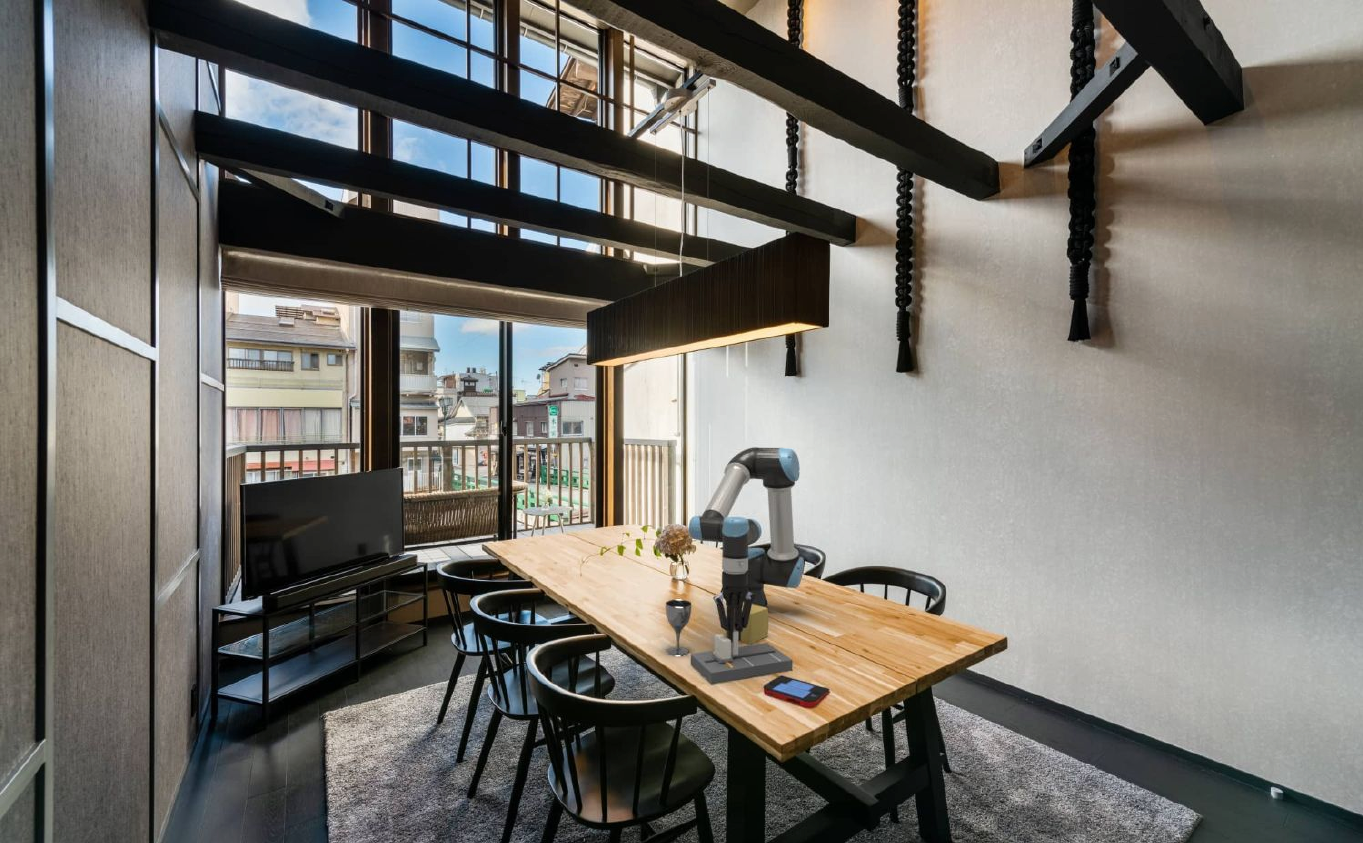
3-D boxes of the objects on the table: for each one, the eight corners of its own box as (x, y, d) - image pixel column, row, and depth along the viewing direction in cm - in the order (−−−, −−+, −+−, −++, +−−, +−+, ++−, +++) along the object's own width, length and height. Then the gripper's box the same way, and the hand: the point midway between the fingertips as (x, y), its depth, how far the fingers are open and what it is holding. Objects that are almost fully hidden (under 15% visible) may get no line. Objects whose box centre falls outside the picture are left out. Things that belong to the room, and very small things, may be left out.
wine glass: (681, 658, 168) (682, 608, 168) (659, 652, 172) (660, 604, 173) (695, 650, 175) (696, 602, 175) (673, 644, 179) (674, 597, 179)
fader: (724, 654, 164) (724, 633, 164) (733, 661, 159) (733, 640, 159) (711, 655, 162) (712, 635, 162) (720, 663, 157) (720, 641, 157)
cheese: (725, 637, 187) (725, 607, 187) (744, 629, 195) (745, 600, 195) (750, 645, 180) (751, 614, 180) (769, 637, 188) (770, 607, 188)
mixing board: (766, 652, 174) (767, 642, 174) (792, 670, 161) (792, 659, 161) (690, 664, 164) (690, 653, 164) (711, 684, 151) (711, 672, 151)
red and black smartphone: (830, 693, 148) (831, 684, 148) (811, 712, 138) (812, 703, 138) (781, 678, 157) (781, 670, 157) (759, 695, 147) (760, 686, 147)
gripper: (720, 576, 156) (719, 661, 156) (761, 572, 161) (759, 654, 161) (709, 569, 163) (707, 651, 163) (748, 566, 168) (746, 645, 168)
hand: (733, 652), depth 162 cm, fingers closed
